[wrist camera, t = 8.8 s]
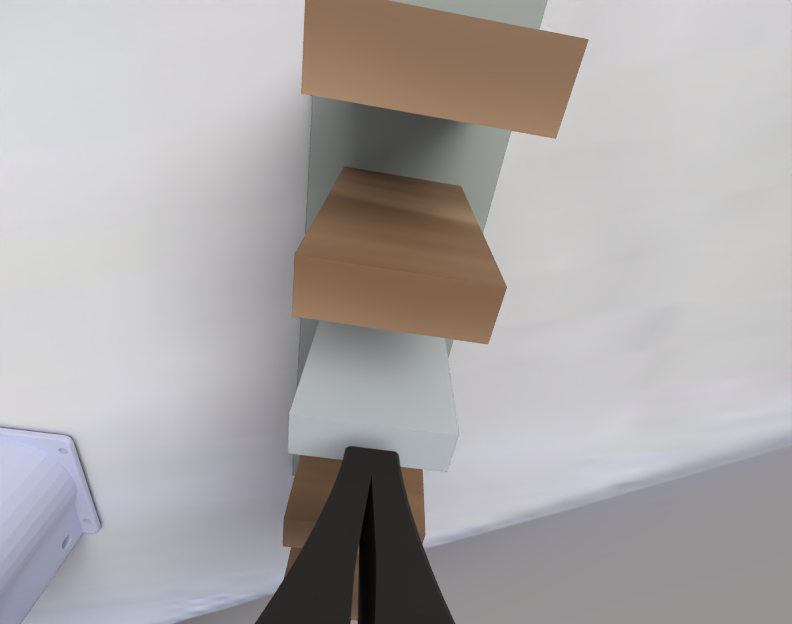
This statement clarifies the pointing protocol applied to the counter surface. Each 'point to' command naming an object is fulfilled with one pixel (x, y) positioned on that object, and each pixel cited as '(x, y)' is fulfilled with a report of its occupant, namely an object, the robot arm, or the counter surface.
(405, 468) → the domino
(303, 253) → the domino
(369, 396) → the grey domino
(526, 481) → the counter surface
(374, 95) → the domino
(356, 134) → the rubber mat
